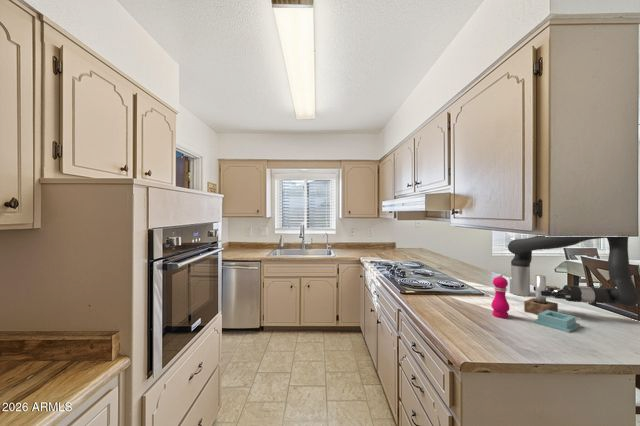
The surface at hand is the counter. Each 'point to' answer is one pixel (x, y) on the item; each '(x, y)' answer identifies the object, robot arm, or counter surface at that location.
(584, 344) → the counter surface
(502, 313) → the pepper mill
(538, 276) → the axle
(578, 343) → the counter surface
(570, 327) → the socket
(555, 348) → the counter surface
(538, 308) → the bore block
